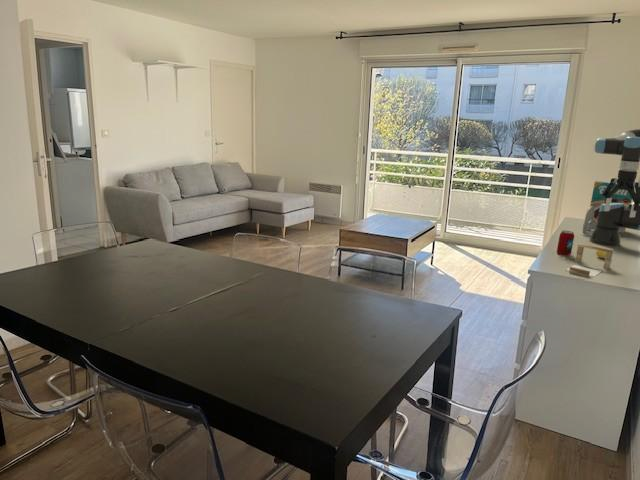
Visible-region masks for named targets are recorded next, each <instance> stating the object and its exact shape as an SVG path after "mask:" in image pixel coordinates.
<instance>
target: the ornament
mask: <svg viewBox="0 0 640 480" xmlns="http://www.w3.org/2000/svg"><path fill="white" fill-rule="evenodd" d="M590 211H591V212H590ZM594 212H595V208H594V206H591V207H590V206H589V208H587V210H586V214H585V218H584V223H583V224H582V233H581V234H580V235H581V236H584V237H591V235H592V233H593V232H594V230H595V229H594V228H592V225H593V218H594Z"/></svg>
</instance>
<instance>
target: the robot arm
mask: <svg viewBox="0 0 640 480" xmlns="http://www.w3.org/2000/svg"><path fill="white" fill-rule="evenodd" d="M594 152H595V153H597V154H601V155H602V154H604V155H618V156H621V159H620V162H619V163H620V165H619V170H618V173H617V177H616V178H615V177H613V178H611V179H610V181H609V182H610V184H609V185H608V186H607V188H606V189H605V191H604V192H603V194H602V196H605V202H604V203H603V204H601V206H600V209H599V214H598V219H597V224H596V228H594V229H593V230H594V232H593V233H592V235H591V237H590V236H589V237H590V238H589V241H590V242H592V243H593V244H597V245H601V246H610V247H611V246H612V247H618V246H620V244H621V235H620V232H619V228H620V227H623V228H626V229H630V230H636V231H640V176H639V178H638V181H636V180H637V175H638V170H639V167H640V166H639V165H640V128H638V129H637V128H635V129H631V130H626V131H624V132H621V133H619V134H618V135H617V136H612V137H609V138H606V137H603V138H602V137H599V138H597V139H596V142H595V144H594ZM635 181H636V182H635ZM616 183H617V185H616V186H615V187H614V185H615V184H616ZM633 186H635V188H634V187H633ZM613 187H614V188H613ZM612 188H613V189H612ZM619 189H623V190H627V191H628V192H629V194H630V196H631V198H632V201H631V203H630V204H629V207H625V204H624V203H611V200H612V198H611V196H612V195H614V194H615V193H616V192H617V191H618V190H619Z"/></svg>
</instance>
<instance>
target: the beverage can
mask: <svg viewBox="0 0 640 480" xmlns="http://www.w3.org/2000/svg"><path fill="white" fill-rule="evenodd" d="M574 240H575V234H574V231H570V230H561V232H560V233H559V236H558V243H557V248H556V253H557V254H558V255H559V256H566V257H568V256H569V255H571V254H572V251H573V247H574V246H573V245H574Z"/></svg>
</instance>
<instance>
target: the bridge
mask: <svg viewBox="0 0 640 480" xmlns="http://www.w3.org/2000/svg"><path fill="white" fill-rule="evenodd" d="M584 249H591V250H595V251H597V250H600V251H605V252H607V253H606V257H605V258H604V263H603V266H602V267H603V269H606V270H609V269H610V268H611V263H612V257H613V253H614V248H608V247H605V246H599V245H592V244H588V243H583V242H579V243H578V245H577V250H576V255H575V260H574V262H575V263H581V262H582V258H583V253H584Z"/></svg>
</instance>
